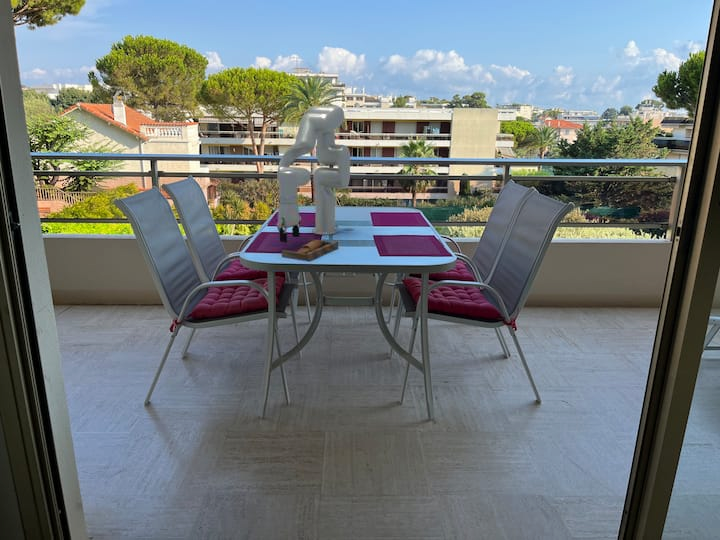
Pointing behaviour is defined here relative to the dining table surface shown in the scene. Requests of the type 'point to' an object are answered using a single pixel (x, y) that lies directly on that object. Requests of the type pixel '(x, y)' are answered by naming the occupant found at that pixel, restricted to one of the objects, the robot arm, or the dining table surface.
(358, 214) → the dining table surface
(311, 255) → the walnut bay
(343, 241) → the dining table surface
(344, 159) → the robot arm
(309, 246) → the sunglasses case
